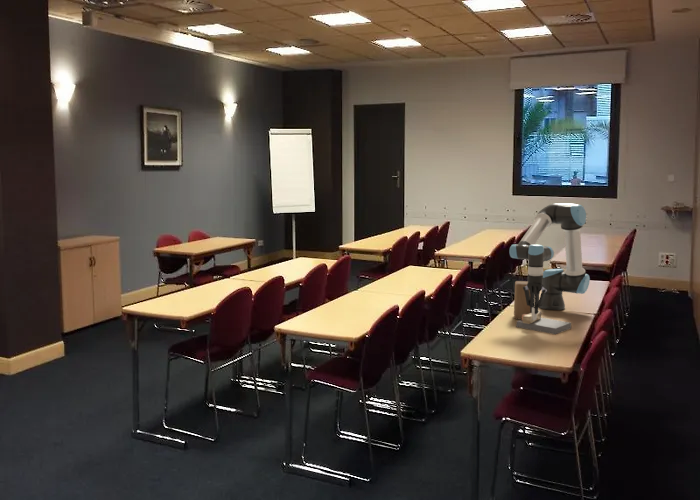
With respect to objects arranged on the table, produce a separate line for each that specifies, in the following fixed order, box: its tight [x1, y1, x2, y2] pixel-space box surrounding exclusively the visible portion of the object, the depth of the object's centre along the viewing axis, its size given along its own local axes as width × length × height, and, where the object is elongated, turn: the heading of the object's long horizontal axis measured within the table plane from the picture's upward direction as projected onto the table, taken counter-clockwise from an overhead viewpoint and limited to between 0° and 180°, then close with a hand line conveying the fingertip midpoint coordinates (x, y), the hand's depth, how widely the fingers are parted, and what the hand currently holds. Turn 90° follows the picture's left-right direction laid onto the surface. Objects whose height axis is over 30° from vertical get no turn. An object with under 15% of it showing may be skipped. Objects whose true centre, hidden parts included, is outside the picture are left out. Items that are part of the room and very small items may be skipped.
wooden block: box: [513, 280, 530, 320], centre depth 366 cm, size 10×10×20 cm
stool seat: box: [515, 314, 572, 335], centre depth 345 cm, size 17×22×6 cm
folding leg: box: [523, 310, 542, 324], centre depth 347 cm, size 17×4×4 cm, turn 142°
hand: (534, 319), depth 342 cm, fingers closed
